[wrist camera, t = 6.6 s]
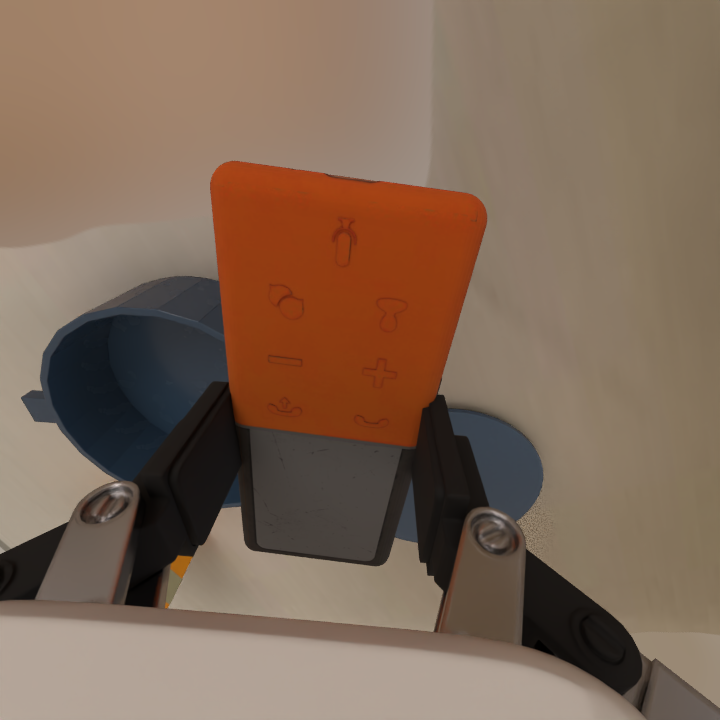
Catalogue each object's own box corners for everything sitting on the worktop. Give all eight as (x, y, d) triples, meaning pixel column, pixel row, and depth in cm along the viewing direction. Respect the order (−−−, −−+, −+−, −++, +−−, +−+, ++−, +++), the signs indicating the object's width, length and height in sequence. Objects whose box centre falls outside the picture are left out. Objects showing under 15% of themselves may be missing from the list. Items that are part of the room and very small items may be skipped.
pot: (37, 267, 26) (-57, 296, 21) (349, 285, 25) (338, 320, 20) (119, 444, 36) (70, 496, 30) (345, 462, 35) (338, 519, 29)
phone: (503, 199, 7) (388, 574, 15) (487, 194, 8) (387, 545, 16) (196, 157, 7) (240, 555, 15) (221, 157, 8) (250, 527, 16)
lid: (344, 396, 31) (337, 440, 26) (568, 412, 30) (603, 460, 25) (342, 528, 41) (337, 576, 36) (509, 542, 40) (526, 594, 35)
